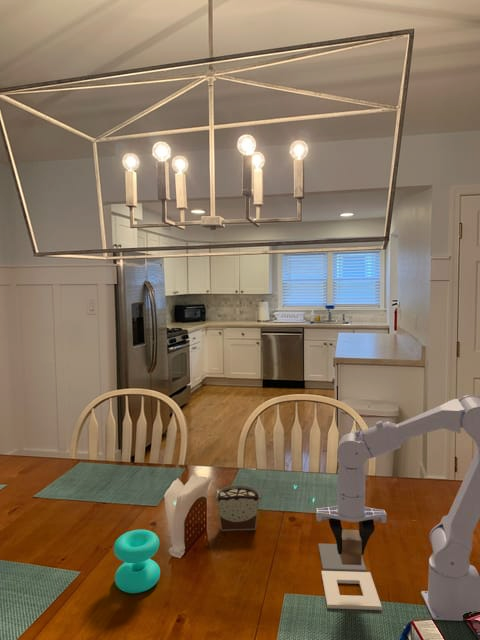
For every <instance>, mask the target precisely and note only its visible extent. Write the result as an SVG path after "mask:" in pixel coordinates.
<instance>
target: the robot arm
mask: <svg viewBox="0 0 480 640" xmlns="http://www.w3.org/2000/svg"><path fill="white" fill-rule="evenodd" d="M461 428H463V430H464V431H465V433H466V434H467V435H468V436H469V437H470V438H471V439H472V440H473V441H474V443H475V445H476V447H477V449H476V451H475V453H474V455H473V457H472V460H471V462H470V465H469V467H468V469H467V472H466V473H465V475H464V478H463V480H462V483H461V484H460V487H459V489H458V491H457V493H456V495H455V498H454V500H453V503H452V505H451V507H450V510H449V511H448V514H446V515H444V516H442V518H441V520H440V521H439V523H438V524H437V525H435V526H433V528H432V529H431V530H430V533H429V541H430V544H431V548H432V551H433V552H432V554H430V557H429V558H428V578H427V579H428V581H427V582H428V583H427V586H428V587H427V590H422V591H421V592H420V595H421V597H422V599H423V601H424V603H425V605H426V607H427V609H428V611H429V613H430V616H431V618H432V619H433V620H435V621H455V622H457V621H458V622H464V621H463V615H464V614H466V613H469V612H474V611H477V612H480V574H479V572H478V570H477V568H476V567H475V566H474V565H472V564H471V563H470V555H471V553H472V550H473V534H474V531H475V529H476V526H477V524H478V522H479V520H480V396H478V395H476V394H467V395H463V396H462V397H460V398H459V399H458V398H454V399H450V400H449V401H447V402H445V403H443V404H441V405H438V406H436V407H434V408H432V409H428V410H426V411H424V412H422V413H420V414H418V415H416V416H413V417H411V418H409V419H405V420H404V421H401V422H399V423H396V422H395V423H394V422H391V421H389V420H388V421H384V422H383V420H379V421H376V422H375V425H374V426H372V427H368V428H367V429H364V430H361V431H360V429H357V430H355V431H354V433H353V432H350V433H346V434H344V435H342V436H341V438H340V439H339V443H338V444H337V445H338V446H337V452H336V453H337V460H338V461H337V462H338V463H337V464H338V465H337V466H338V468H337V503H336V505H334V506H328V507H316V509H315V516H316V517H315V518H316V521H317V522H323V520H325V521H326V520H327V521H328V524H329V527H330V530H331V532H332V534H333V536H334V540H335V541H336V542H335V544H337V551H338V554H342V543H341V540H342V530H343V526H342V521H344V522H350V523H358V529H359V530H358V531H359V534H360V537H361V539H362V556H363V555H365V550H366V547H367V544H368V541H369V539H370V538H371V536H372V534H374V532H375V529H376V528H375V524H374V522H380V523H382V524H384V523H387V512H386V510H385V509H381V508H379V509H378V508H374V507H373V508H372V507H369V506H366V471H365V464H366V461H367V460H370V459H373V458H377V457H379V456H383V455H385V454H387V453H390V452H393V451H395V450H399V449H401V447H402V446H403V442H404V441H405V440H409V439H412V438H415V437H419V436H421V435H424V434H429V433H430V432H434V431H438V430H441V429H445V430H447V431H450V432H454V433H456V434H462V430H461Z"/></svg>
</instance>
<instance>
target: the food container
mask: <svg viewBox="0 0 480 640" xmlns="http://www.w3.org/2000/svg"><path fill="white" fill-rule="evenodd" d="M259 502H262V498H261V495H260V493H259V491H258V490H257V489H256V488H254V487H252V486H248V485H240V484H239V485H237V484H236V485H235V484H234V485H230V486H226V487H223V488H221V489H219V491H217V494H216V496H215V503H217V506H218V507H217V508H218V515H219V524H220V530H221V531H223V532H225V531H226V532H227V531H252V530H253V531H255V530H257V521H258V514H259V513H258V512H259V504H260V503H259Z"/></svg>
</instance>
